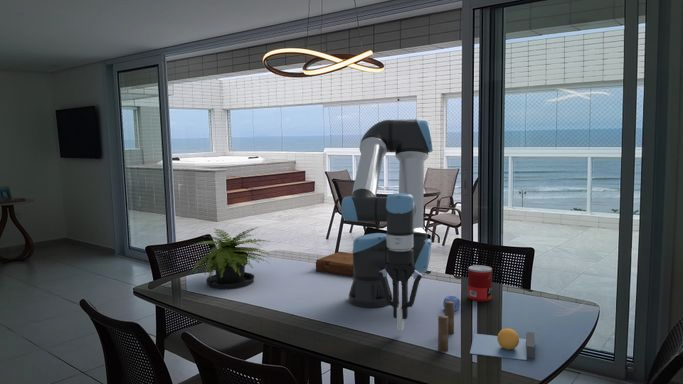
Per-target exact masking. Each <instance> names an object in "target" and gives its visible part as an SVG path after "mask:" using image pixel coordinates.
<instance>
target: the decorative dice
mask: <svg viewBox="0 0 683 384" xmlns="http://www.w3.org/2000/svg"><path fill="white" fill-rule="evenodd" d="M446 301H452V302H454V312H456V311H458V310H459V309H460V305H461V301H460V299H459V298H458V297H457V296H455V295H447V296H446V297H445V298H444V299H443V303H442V305H443V308H444V309H445V302H446Z"/></svg>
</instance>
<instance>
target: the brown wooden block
mask: <svg viewBox="0 0 683 384" xmlns="http://www.w3.org/2000/svg"><path fill="white" fill-rule="evenodd" d="M315 271H316V272H317V273H323V274H329V275H338V276H343V277H344V276H345V277H350V278H354V277H353V252H347V251H346V252H344V251H337V252H334V253H331V254H328V255H327V256H324V257H321V258H318V259H316V261H315Z"/></svg>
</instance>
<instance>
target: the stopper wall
mask: <svg viewBox="0 0 683 384" xmlns="http://www.w3.org/2000/svg"><path fill="white" fill-rule="evenodd" d="M525 334H526V335H525V337H526V338H525V339H526V354H527V358H528V359H535V358H536V341H535V340H536V339H535V332H531V331H526V333H525Z"/></svg>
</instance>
